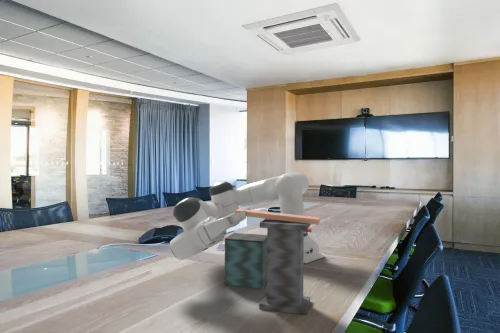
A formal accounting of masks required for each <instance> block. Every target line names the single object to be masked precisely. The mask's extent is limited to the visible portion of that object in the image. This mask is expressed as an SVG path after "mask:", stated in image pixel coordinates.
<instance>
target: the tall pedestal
mask: <svg viewBox="0 0 500 333" xmlns="http://www.w3.org/2000/svg"><path fill="white" fill-rule="evenodd" d="M311 225H312V224H308V223H299V222H290V221H281V220H273V219H264V218H263V220H262V221H260V222H259V228H260V229H266V230H267V231H266V232H267V233H266V235H267V283H266V293H265V294H264V296H263V298H262V299H261V300H260V302H259V306H258V308H259V310H265V311H272V312H280V313H287V314H296V315H303V316H304V315H305V316H307V315H308V314H307V313H308V310H309V307H310V304H311V296H306V295H304V265H305V263H304V230H305V231H307V230H308V228H310V226H311Z"/></svg>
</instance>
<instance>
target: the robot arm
mask: <svg viewBox="0 0 500 333" xmlns="http://www.w3.org/2000/svg"><path fill="white" fill-rule="evenodd" d="M309 186H310V181H309V179H308V177H307V176H306V175H305V174H304V173H302V172H299V171H293V172H287V173H283V174H281V175H278V176H274V177H269V178H265V179H261V180H258V181H254V182H251V183H250V182H249V183H247V184H244V185H242V186H240V187H238V188H236V185H235V184H234V185H233V184H231V183H230V182H228V181H222V180H221V181H217V182H215V183H213V184H212V185H211V186H210V187H209V190H208V191H209V192H208V193H209V196H210V198H211V201H203V199H201V198H199V197H198V198H196V197H191V196H190V197H186V198H183V199H182V200H180V201H179V202H178V203H177V204H175V206H174V207H173V212H172V213H173V214H172V216H173V217H174V218H175V220H176V221H177V222H178V223H179V224H180V227H181V228H182V229H183V231H182V232H181V233H179V234H178V235H176V236H175V237H174V238H173V239H171V240H170V241H169V248H170V251H171V252H172V254H173V255H174V257H175V258H176V259H177V260H179V261H184V260H186V259H187V260H188V259H190V258H192V257H194V256H196V255H198V254H201V253H202V252H205V251H207V250H208V249H210V248H211V247H214V246H215V245H218V244H220V243H222V241H225V236H226V235H227V230H229V229H231V228H234V227H236V226H238V225H239V224H240V223H241V222H243V221H244V220H246V219H247V216H246V215H247V213H246V211H245V210H243V211H241V212H239V213H237V214H235V210H237V209H240V208H245V209H246V210H252V209H251V208H250V207H256V206H260V205H265V204H270V203H274V202H277V201H278V202H279V209H280V213H283V214H292V215H302V216H306V209H305V206H304V201H303V195H304V194H305V193H306V192H307V190H308V189H309ZM235 188H236V189H235ZM312 231H313V229H312V228H311V227H309V228H308V230H307V231H305V230H304V264H309V263H311V262H314V261H317V260H319V259H323V258H325V254H324V253H322V252H320V250H319V249H320V247H319V243H318V242H317V241H315V240H314V239H313V238H312V237H311V236H310V235H309V233H312Z"/></svg>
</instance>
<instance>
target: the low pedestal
mask: <svg viewBox="0 0 500 333" xmlns="http://www.w3.org/2000/svg"><path fill="white" fill-rule="evenodd" d="M224 243H225V251H224V286H233V287H241V286H243V287H244V288H250V287H251V288H250V289H252V288H253V289H259V288H260V289H259V290H263V289H264V288H265V287H266V286H267V234H256V233H254V234H253V233H243V232H242V233H239V232H233V233H232V234H230V235H228V236H227V237H224Z"/></svg>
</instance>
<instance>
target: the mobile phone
mask: <svg viewBox="0 0 500 333" xmlns="http://www.w3.org/2000/svg"><path fill="white" fill-rule="evenodd" d="M215 251H217V252H225V242H219V243H218V244H217V247H216V249H215Z"/></svg>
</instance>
